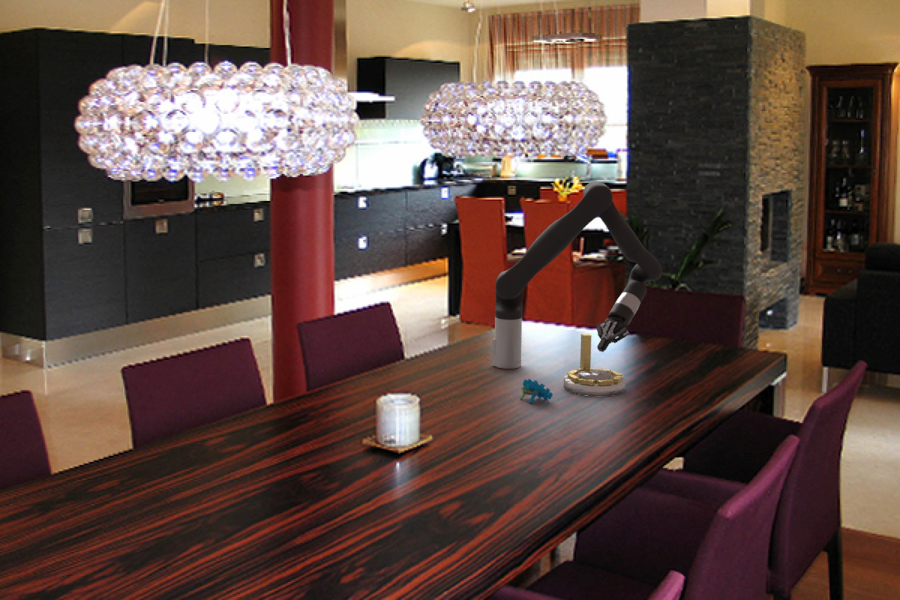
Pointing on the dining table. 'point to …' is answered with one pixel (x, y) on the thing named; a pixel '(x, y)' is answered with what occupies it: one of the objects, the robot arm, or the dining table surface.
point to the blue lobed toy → (535, 390)
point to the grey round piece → (594, 389)
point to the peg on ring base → (585, 365)
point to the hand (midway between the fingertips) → (600, 350)
